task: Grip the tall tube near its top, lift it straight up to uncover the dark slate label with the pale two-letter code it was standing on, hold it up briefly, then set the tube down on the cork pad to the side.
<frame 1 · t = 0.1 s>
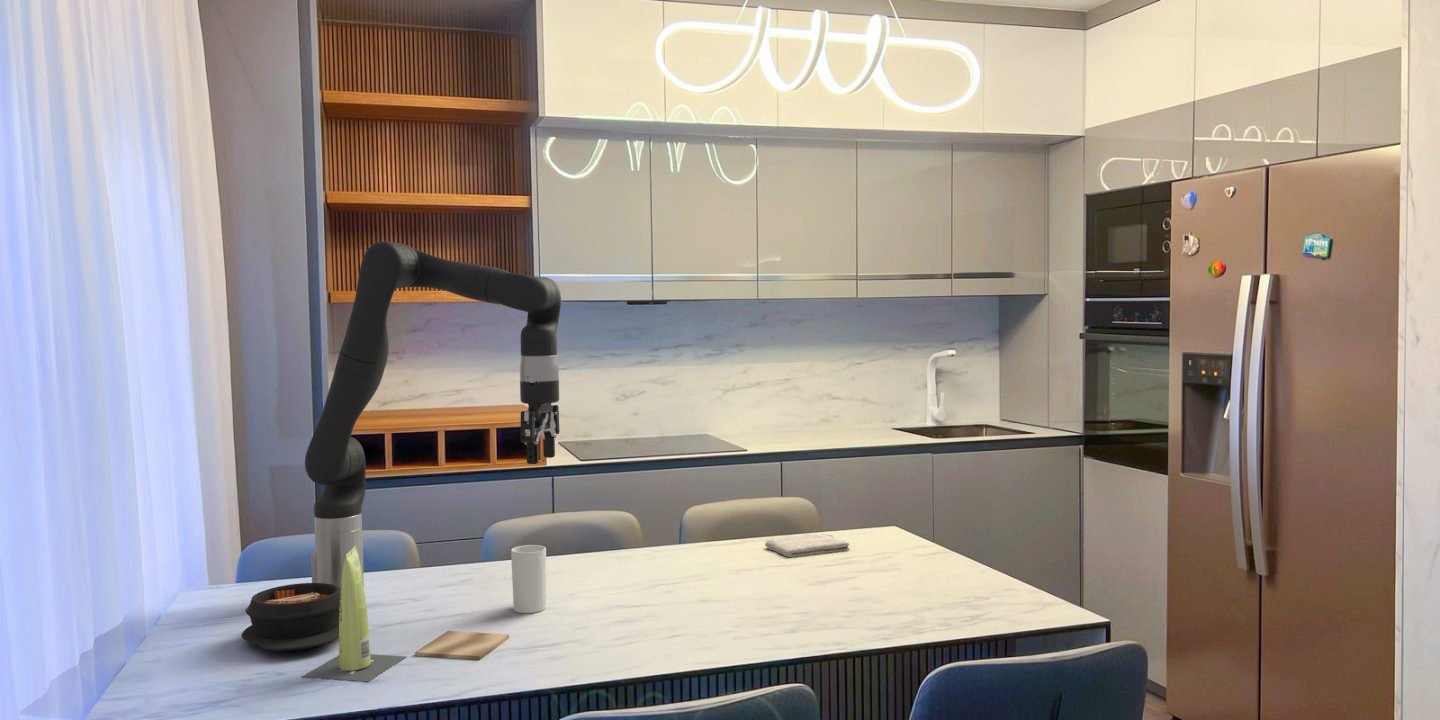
hand: (541, 460, 203), 29 cm above the table, tool pointing down, fingers open, 8 cm apart
tube: (355, 667, 171), resting on code label
casserole: (298, 639, 187), on the table
washcloth: (808, 552, 252), on the table
code label: (355, 669, 171), on the table
mug: (530, 607, 205), on the table
cork pad: (463, 646, 181), on the table
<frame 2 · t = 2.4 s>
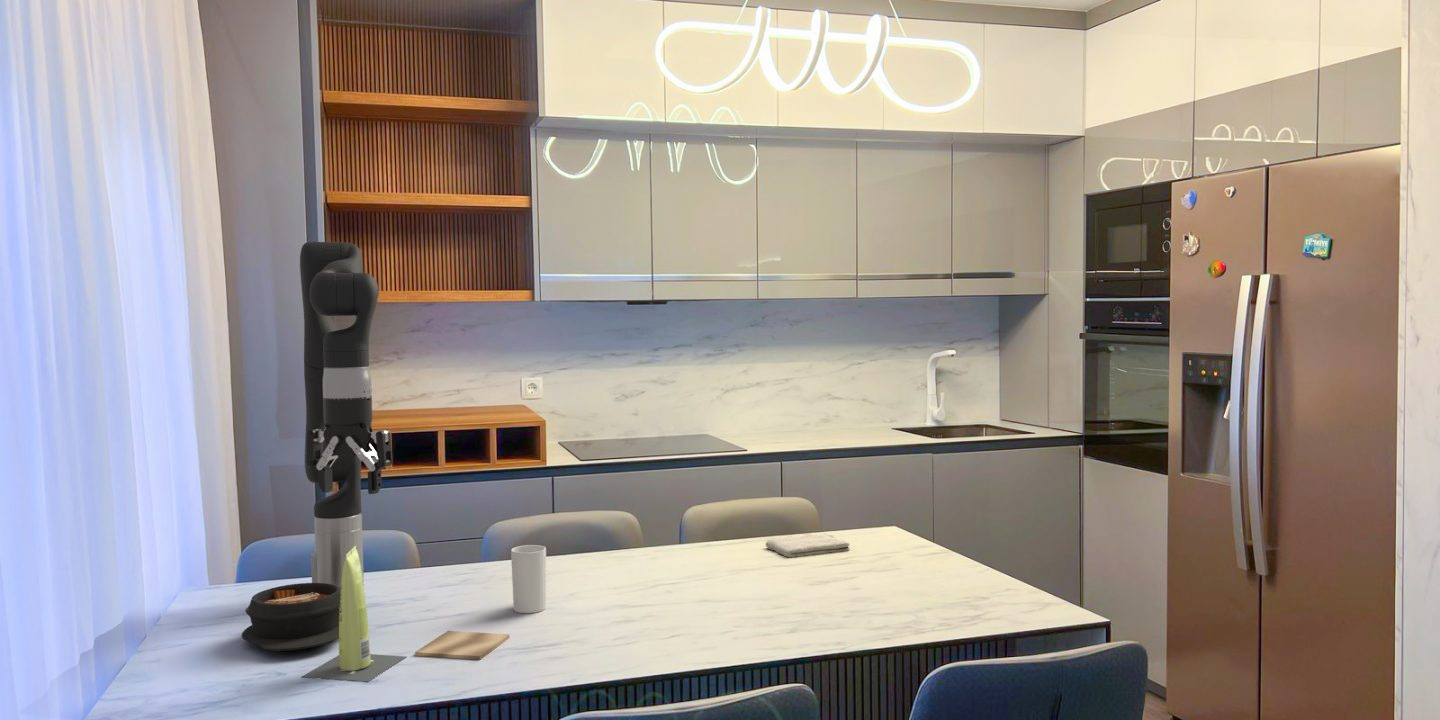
hand: (350, 492, 170), 29 cm above the table, tool pointing down, fingers open, 8 cm apart
nothing on the table moved.
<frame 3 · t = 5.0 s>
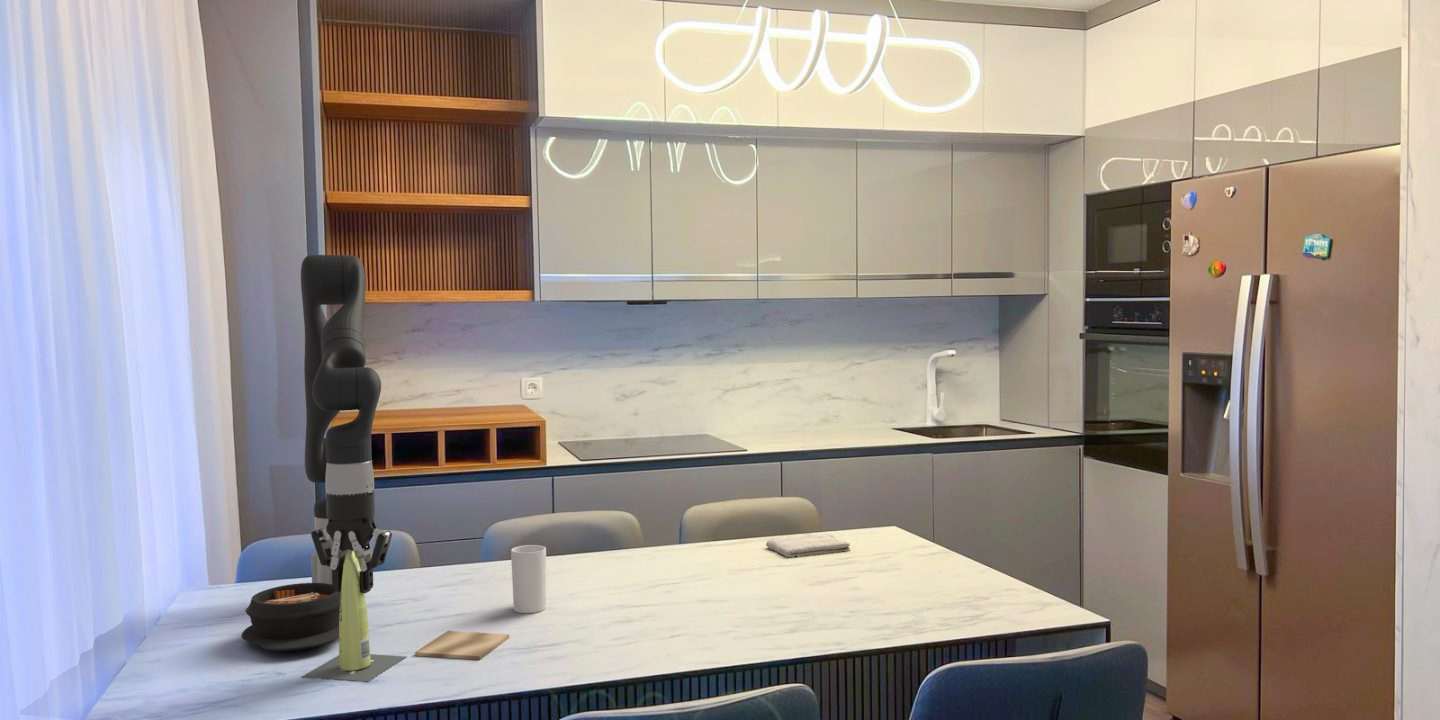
hand: (353, 591, 171), 13 cm above the table, tool pointing down, fingers closed on tube, 4 cm apart
tube: (355, 667, 171), resting on code label, touching gripper
everything else where it was.
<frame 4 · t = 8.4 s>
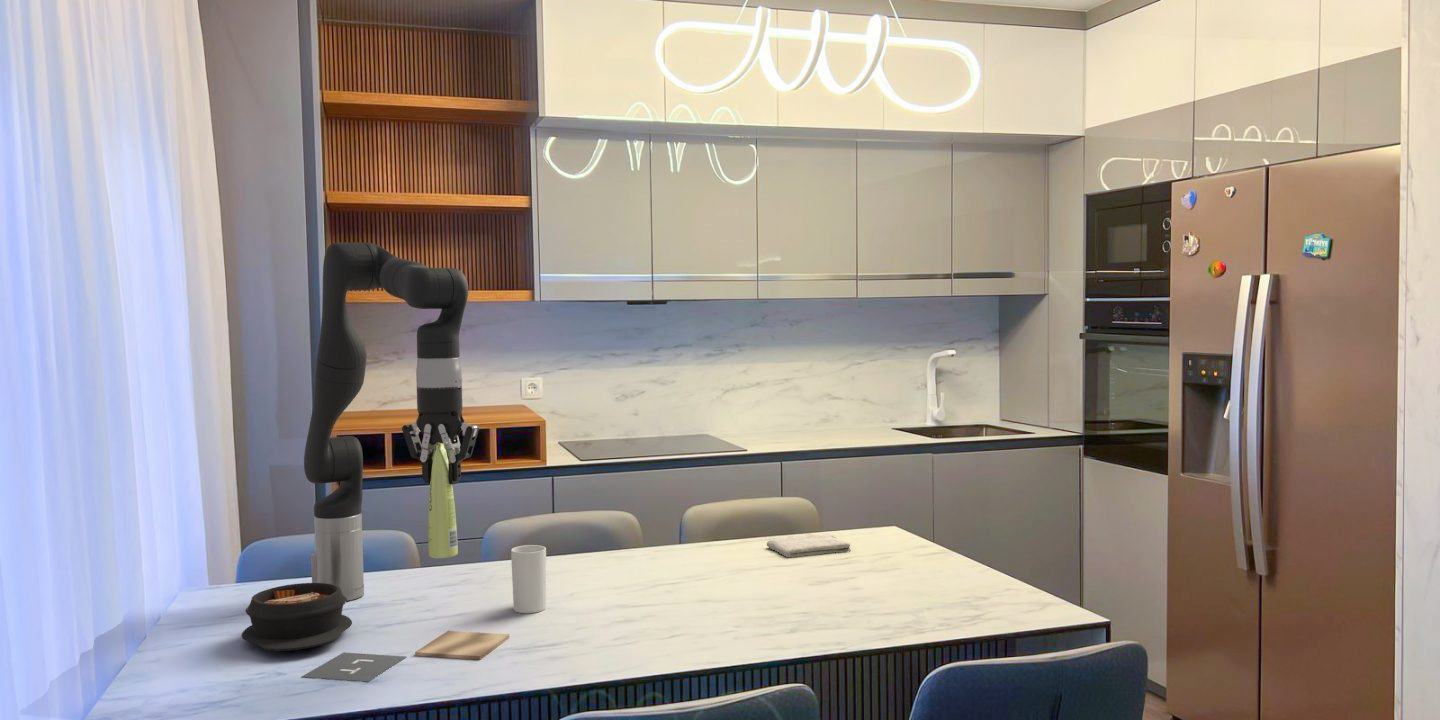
hand: (442, 482, 178), 29 cm above the table, tool pointing down, fingers closed on tube, 4 cm apart
tube: (443, 556, 179), point 16 cm above the table, touching gripper
everything else where it was.
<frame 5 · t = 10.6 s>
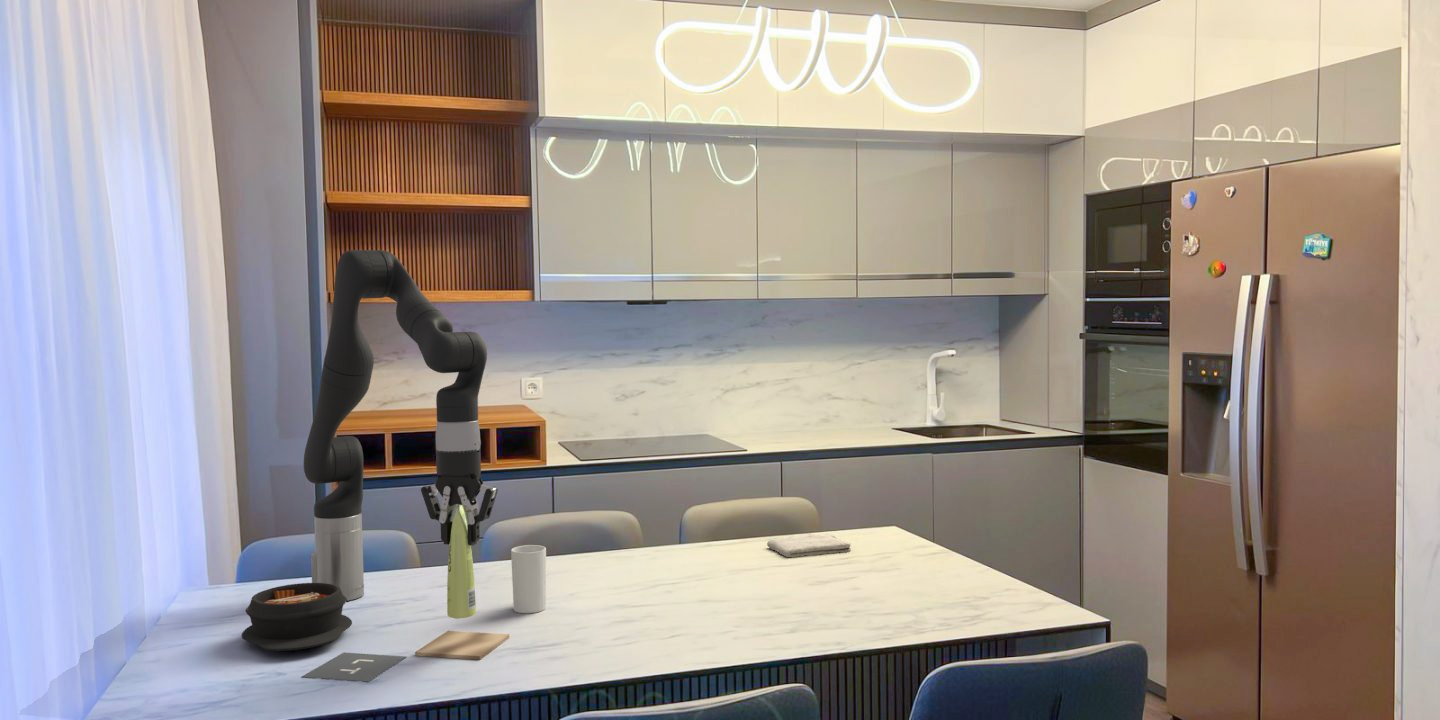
hand: (460, 543, 180), 18 cm above the table, tool pointing down, fingers closed on tube, 4 cm apart
tube: (462, 616, 181), point 5 cm above the table, touching gripper
everything else where it was.
when the fingers open (14 cm above the table, at t = 12.3 s): tube stays where it is, resting on cork pad.
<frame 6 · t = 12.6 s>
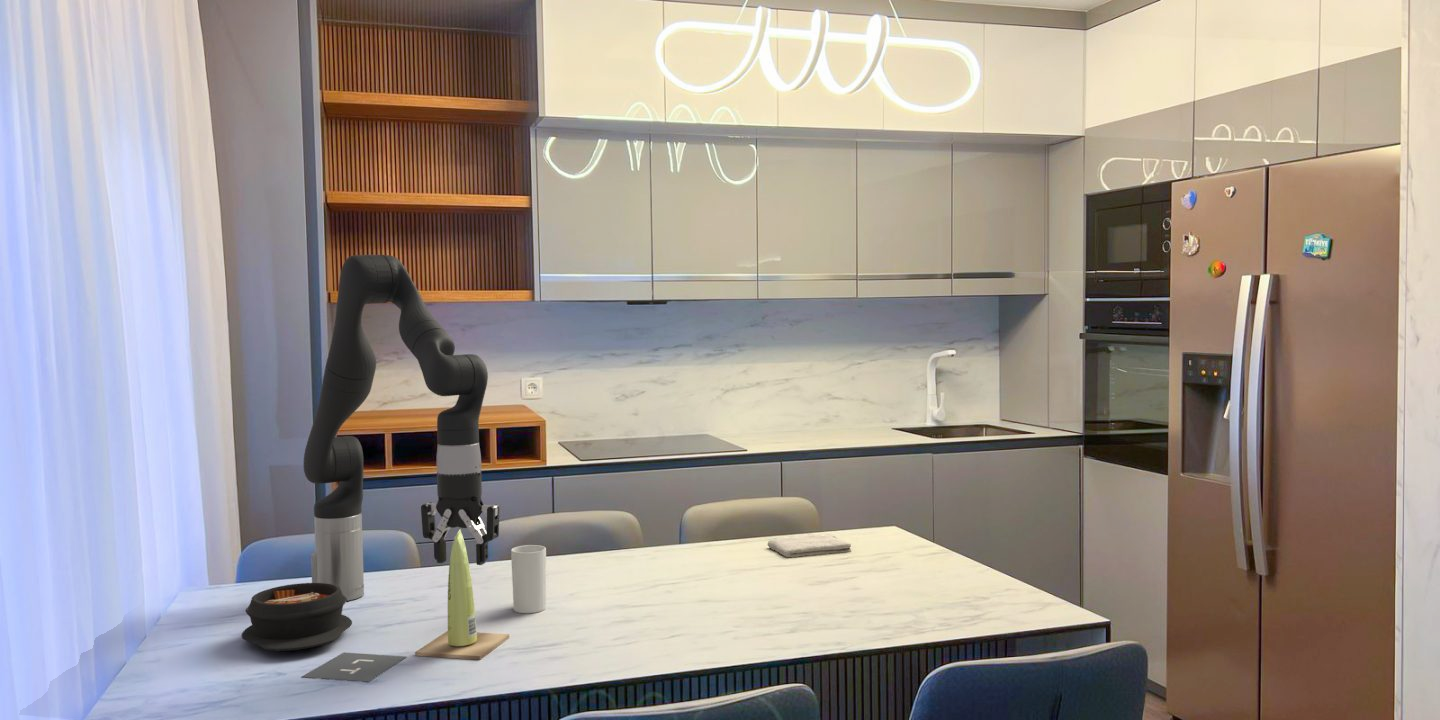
hand: (461, 563, 181), 15 cm above the table, tool pointing down, fingers open, 7 cm apart
tube: (462, 643, 181), resting on cork pad
everything else where it was.
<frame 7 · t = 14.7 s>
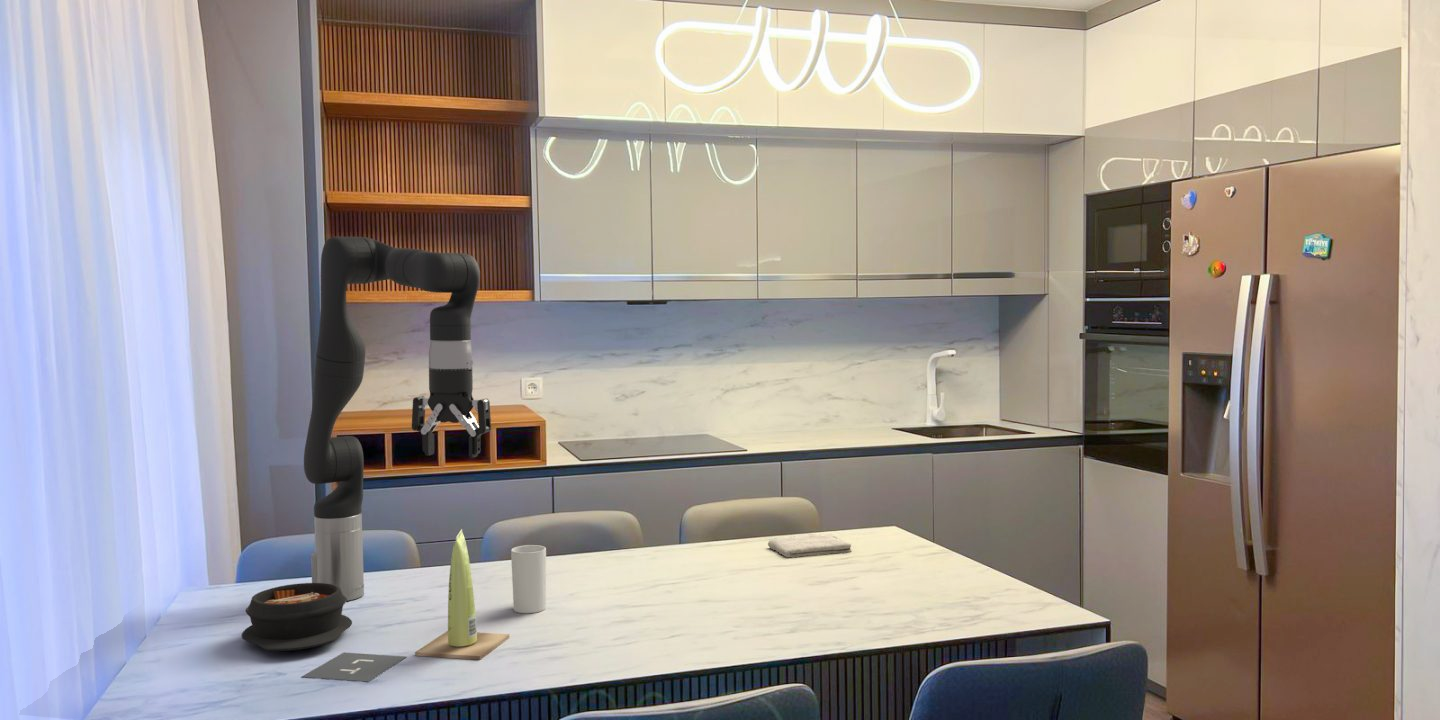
hand: (451, 455, 185), 33 cm above the table, tool pointing down, fingers open, 8 cm apart
nothing on the table moved.
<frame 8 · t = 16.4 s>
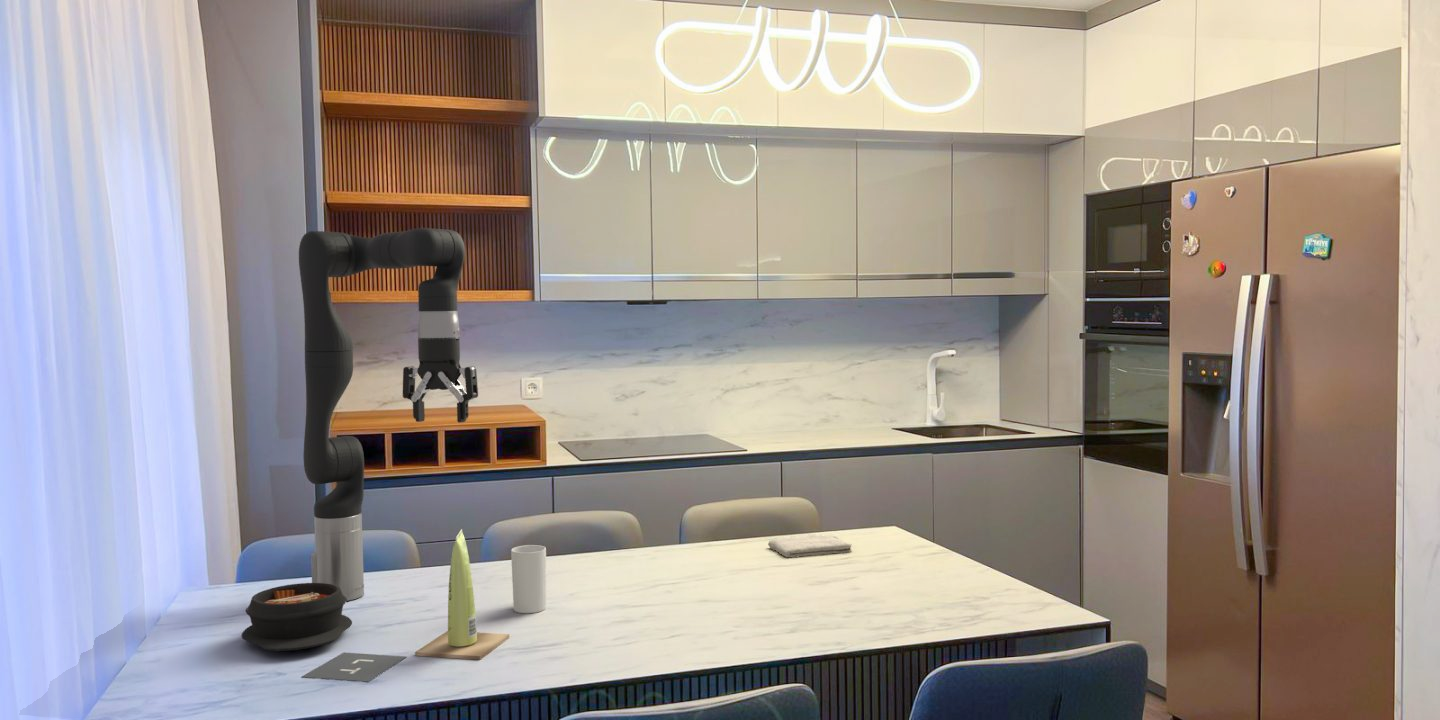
hand: (441, 421, 194), 38 cm above the table, tool pointing down, fingers open, 8 cm apart
nothing on the table moved.
at the end: tube inside the target area (0.1 cm from its centre), resting on cork pad; tube tilted 0°; the gripper is holding nothing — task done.
